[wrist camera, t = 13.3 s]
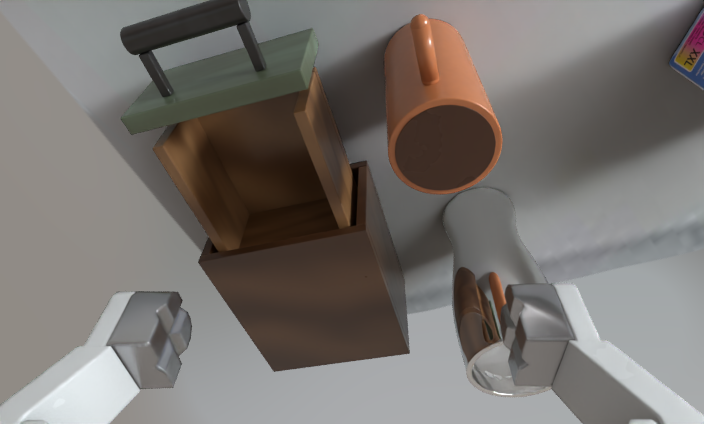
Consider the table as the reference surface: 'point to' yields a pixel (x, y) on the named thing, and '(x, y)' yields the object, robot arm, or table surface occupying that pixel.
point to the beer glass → (486, 284)
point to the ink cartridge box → (691, 53)
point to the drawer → (244, 129)
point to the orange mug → (437, 110)
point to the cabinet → (319, 290)
